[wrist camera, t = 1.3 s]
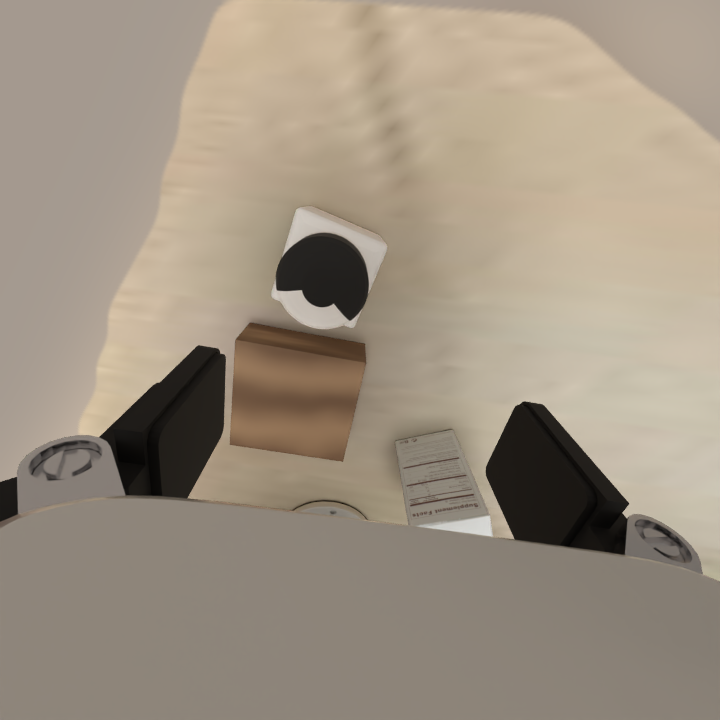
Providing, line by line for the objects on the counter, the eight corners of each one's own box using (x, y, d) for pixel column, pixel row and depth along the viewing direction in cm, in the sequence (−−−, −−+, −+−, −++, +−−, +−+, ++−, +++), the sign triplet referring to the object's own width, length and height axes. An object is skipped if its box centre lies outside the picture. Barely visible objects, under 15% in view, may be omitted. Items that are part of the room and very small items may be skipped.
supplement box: (461, 472, 44) (498, 569, 32) (404, 483, 45) (420, 581, 33) (454, 426, 41) (493, 515, 29) (393, 438, 42) (407, 530, 30)
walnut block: (344, 432, 41) (343, 461, 37) (243, 416, 40) (229, 444, 36) (364, 342, 36) (366, 363, 32) (250, 321, 35) (235, 339, 31)
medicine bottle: (308, 204, 30) (282, 207, 20) (382, 236, 32) (396, 255, 21) (285, 279, 33) (251, 318, 22) (354, 306, 34) (353, 355, 24)
